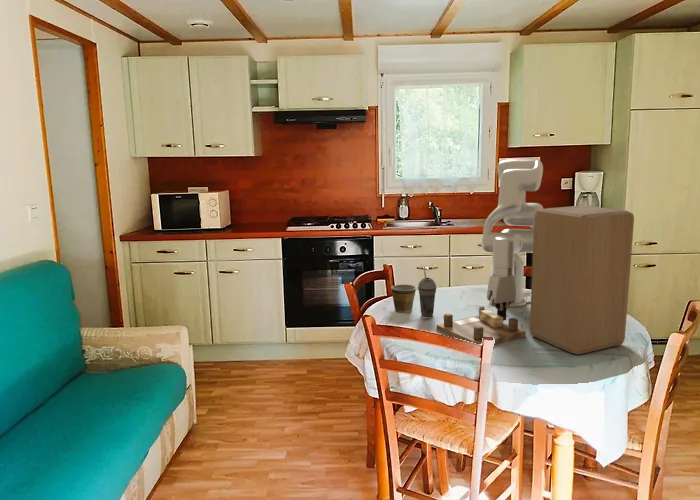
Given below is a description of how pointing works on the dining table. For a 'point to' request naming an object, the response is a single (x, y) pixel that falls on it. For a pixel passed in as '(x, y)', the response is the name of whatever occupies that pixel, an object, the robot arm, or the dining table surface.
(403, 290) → the ceramic cup
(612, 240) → the wooden block
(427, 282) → the beverage cup
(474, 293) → the dining table surface
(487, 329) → the board
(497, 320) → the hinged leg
